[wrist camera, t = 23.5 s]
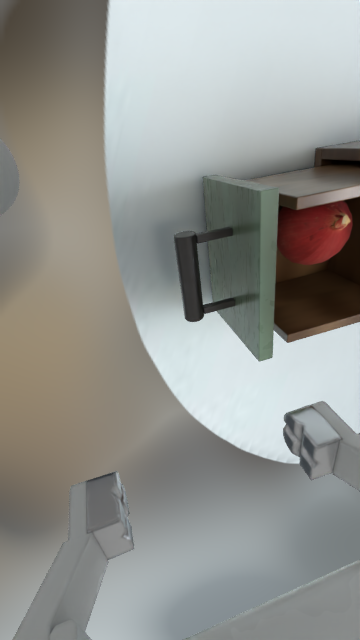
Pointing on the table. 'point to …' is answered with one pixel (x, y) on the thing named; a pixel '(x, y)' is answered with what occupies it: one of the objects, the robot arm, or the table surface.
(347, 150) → the cabinet
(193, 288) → the drawer
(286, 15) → the table surface
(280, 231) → the onion
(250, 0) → the table surface
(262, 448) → the table surface
